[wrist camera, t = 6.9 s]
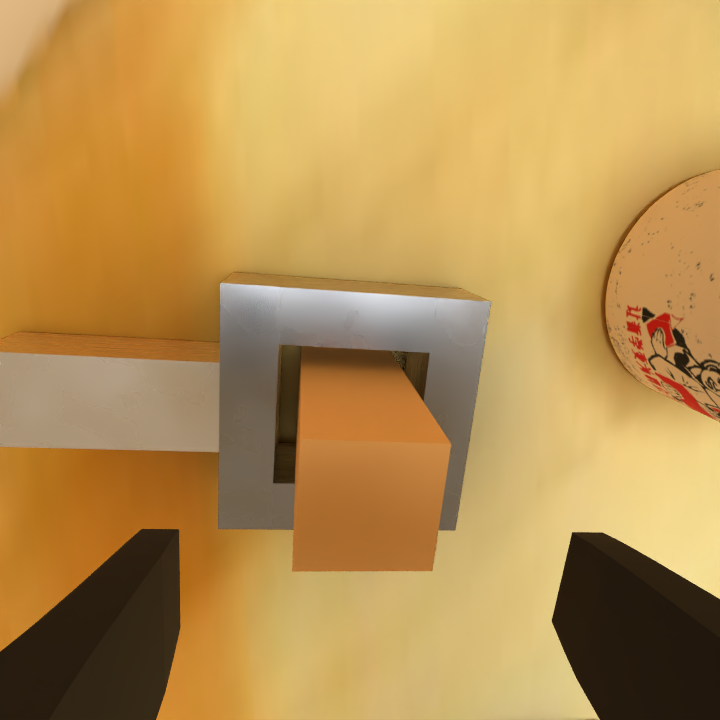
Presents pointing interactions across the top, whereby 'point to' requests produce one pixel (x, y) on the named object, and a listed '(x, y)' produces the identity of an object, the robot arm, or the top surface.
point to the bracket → (243, 382)
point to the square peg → (365, 465)
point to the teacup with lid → (672, 296)
